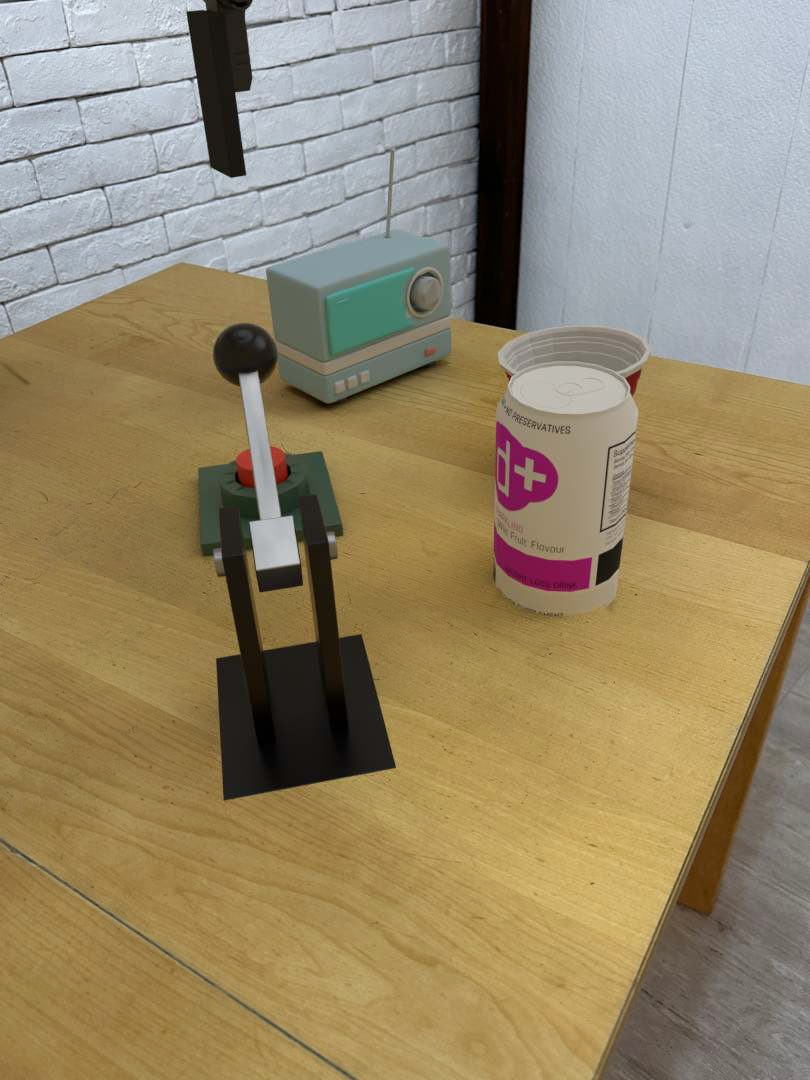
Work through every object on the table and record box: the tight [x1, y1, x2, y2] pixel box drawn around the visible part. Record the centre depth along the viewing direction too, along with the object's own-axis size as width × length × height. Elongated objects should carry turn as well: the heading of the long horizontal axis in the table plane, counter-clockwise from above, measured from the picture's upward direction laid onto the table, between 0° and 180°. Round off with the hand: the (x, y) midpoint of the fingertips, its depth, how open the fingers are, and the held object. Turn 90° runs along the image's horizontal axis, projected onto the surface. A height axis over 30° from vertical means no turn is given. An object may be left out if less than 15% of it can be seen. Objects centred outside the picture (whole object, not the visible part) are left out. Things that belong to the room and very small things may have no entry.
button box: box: [197, 450, 344, 557], centre depth 68 cm, size 11×10×4 cm
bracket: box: [212, 494, 397, 802], centre depth 48 cm, size 11×9×14 cm
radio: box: [265, 146, 452, 405], centre depth 84 cm, size 16×9×20 cm, turn 131°
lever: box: [212, 321, 304, 593], centre depth 48 cm, size 16×4×4 cm, turn 12°
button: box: [235, 445, 288, 488], centre depth 67 cm, size 4×4×2 cm
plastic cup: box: [497, 324, 653, 398], centre depth 68 cm, size 11×11×12 cm
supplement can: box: [492, 362, 640, 617], centre depth 57 cm, size 8×8×15 cm
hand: (83, 196), depth 40 cm, fingers open, 13 cm apart
